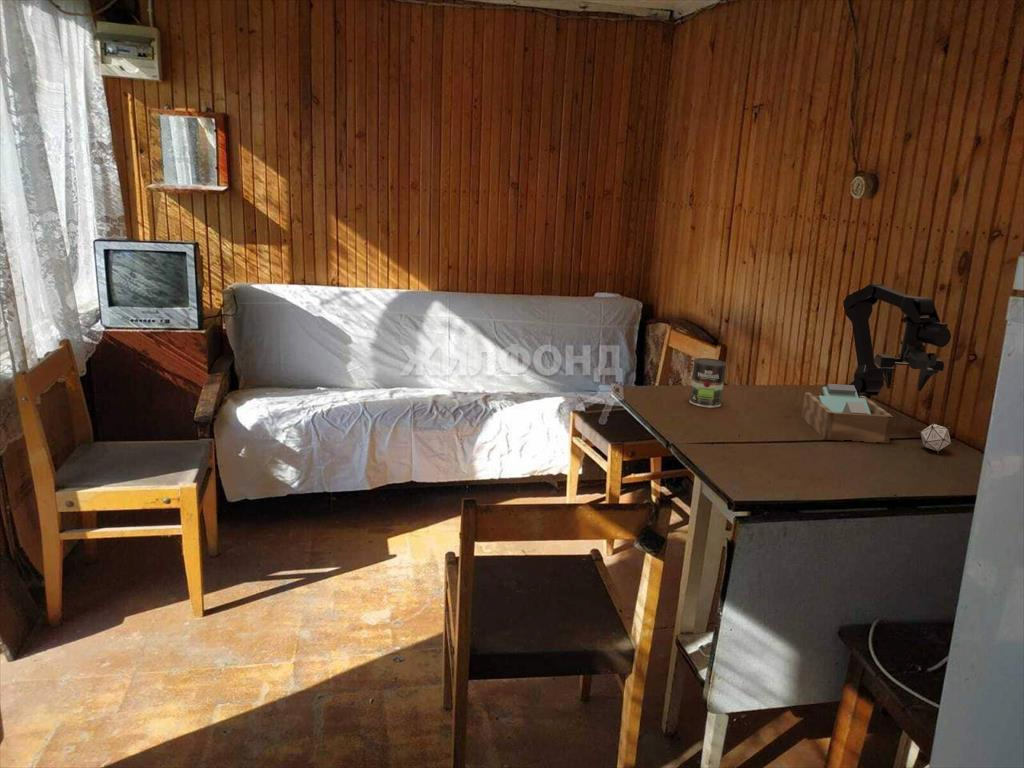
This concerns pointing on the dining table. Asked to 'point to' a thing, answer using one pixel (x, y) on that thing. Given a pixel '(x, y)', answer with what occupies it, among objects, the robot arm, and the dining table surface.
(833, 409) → the trapdoor
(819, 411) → the box frame
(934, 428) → the game die
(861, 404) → the grey block
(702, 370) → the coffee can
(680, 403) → the dining table surface
